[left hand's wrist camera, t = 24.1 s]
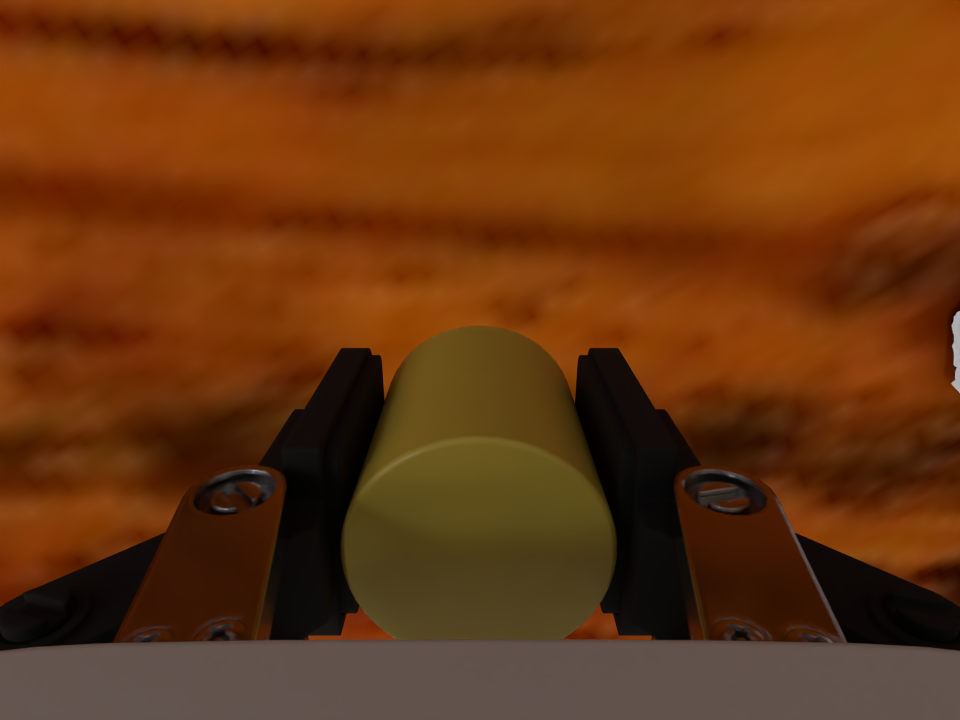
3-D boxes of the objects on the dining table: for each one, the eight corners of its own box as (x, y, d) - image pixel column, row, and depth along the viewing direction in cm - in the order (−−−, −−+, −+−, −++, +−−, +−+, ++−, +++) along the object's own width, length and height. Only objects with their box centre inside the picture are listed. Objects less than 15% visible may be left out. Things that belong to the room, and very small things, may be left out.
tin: (588, 337, 12) (648, 456, 8) (553, 499, 13) (587, 676, 9) (394, 312, 11) (345, 421, 7) (380, 479, 13) (332, 650, 9)
